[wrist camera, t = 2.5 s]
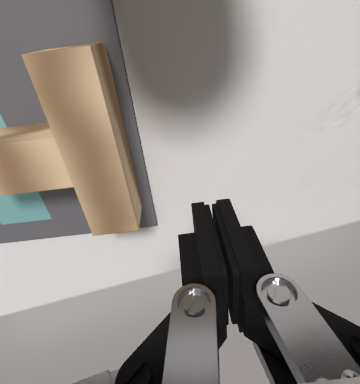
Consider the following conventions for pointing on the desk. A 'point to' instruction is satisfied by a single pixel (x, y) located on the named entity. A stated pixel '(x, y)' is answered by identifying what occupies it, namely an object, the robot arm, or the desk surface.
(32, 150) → the pine T block
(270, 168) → the desk surface
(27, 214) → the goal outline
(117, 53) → the rubber mat
